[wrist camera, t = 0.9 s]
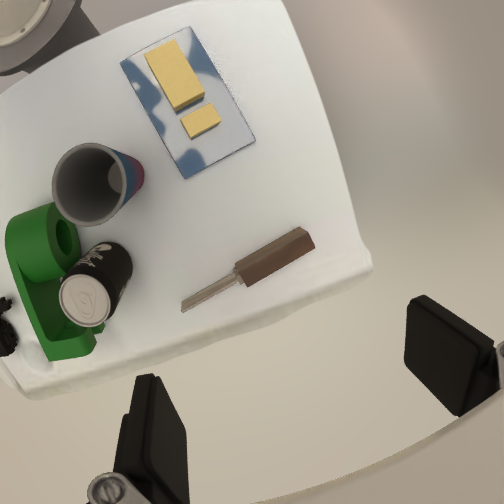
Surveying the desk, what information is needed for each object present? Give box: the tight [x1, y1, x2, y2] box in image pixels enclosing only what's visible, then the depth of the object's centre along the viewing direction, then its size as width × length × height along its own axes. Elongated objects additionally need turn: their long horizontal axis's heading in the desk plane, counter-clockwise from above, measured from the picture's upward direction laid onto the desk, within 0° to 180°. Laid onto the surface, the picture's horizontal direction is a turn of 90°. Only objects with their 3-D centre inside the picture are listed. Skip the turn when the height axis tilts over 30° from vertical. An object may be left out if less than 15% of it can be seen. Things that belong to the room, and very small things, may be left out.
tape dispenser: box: [5, 202, 105, 362], centre depth 33 cm, size 18×9×6 cm
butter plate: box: [120, 26, 256, 179], centre depth 35 cm, size 18×10×1 cm, turn 29°
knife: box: [181, 227, 315, 313], centre depth 41 cm, size 2×19×4 cm, turn 119°
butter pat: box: [180, 103, 222, 139], centre depth 34 cm, size 2×4×3 cm, turn 119°
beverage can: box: [59, 242, 133, 327], centre depth 33 cm, size 7×7×12 cm
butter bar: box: [144, 39, 205, 112], centre depth 32 cm, size 8×4×3 cm, turn 29°
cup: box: [52, 143, 144, 227], centre depth 29 cm, size 7×7×15 cm
